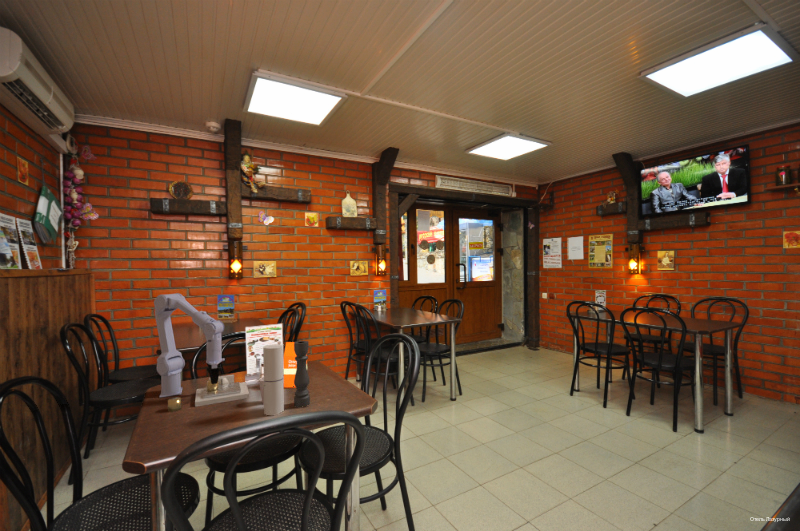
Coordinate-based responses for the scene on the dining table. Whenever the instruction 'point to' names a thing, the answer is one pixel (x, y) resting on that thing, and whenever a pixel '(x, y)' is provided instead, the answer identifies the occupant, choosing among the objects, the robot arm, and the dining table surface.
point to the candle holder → (301, 374)
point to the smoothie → (262, 388)
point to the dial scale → (222, 398)
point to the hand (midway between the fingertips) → (214, 381)
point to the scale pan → (223, 390)
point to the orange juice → (290, 365)
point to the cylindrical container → (273, 379)
